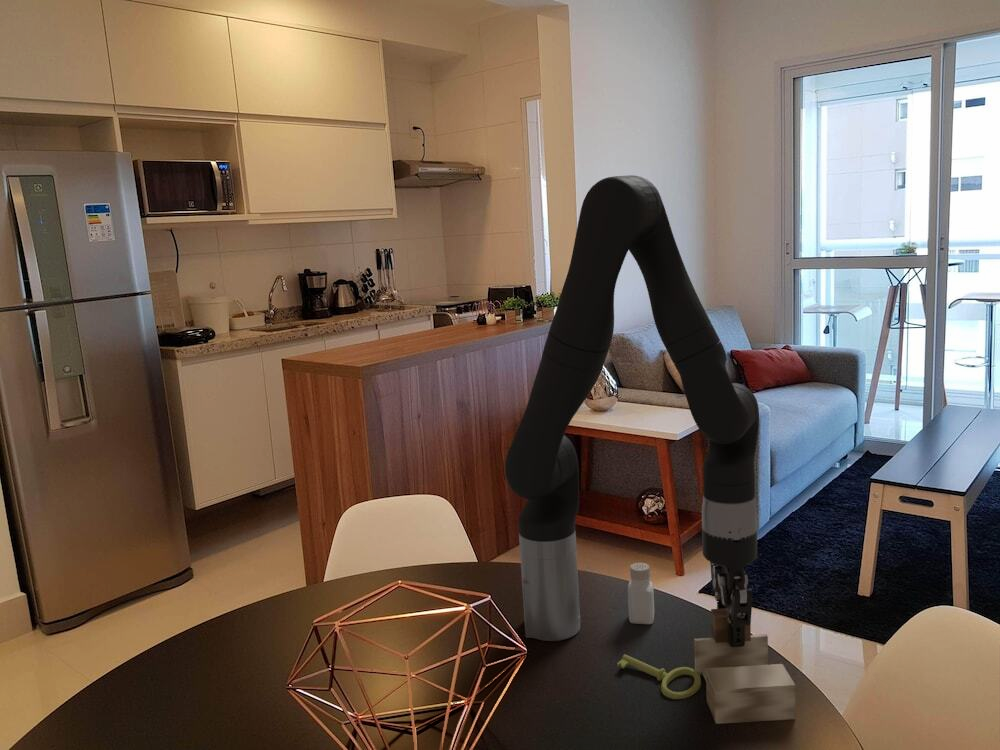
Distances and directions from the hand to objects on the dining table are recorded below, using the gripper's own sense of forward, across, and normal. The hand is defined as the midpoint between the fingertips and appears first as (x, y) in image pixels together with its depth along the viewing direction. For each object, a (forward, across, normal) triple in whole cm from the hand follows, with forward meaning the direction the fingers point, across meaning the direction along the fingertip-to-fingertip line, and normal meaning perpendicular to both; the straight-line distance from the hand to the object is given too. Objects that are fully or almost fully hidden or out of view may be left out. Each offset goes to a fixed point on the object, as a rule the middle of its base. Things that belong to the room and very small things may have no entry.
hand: (730, 634), depth 118 cm
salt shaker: (+6, -17, -10) cm, 21 cm away
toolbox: (+6, +9, 0) cm, 11 cm away
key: (+7, 0, -10) cm, 12 cm away
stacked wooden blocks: (+6, +2, 0) cm, 6 cm away
